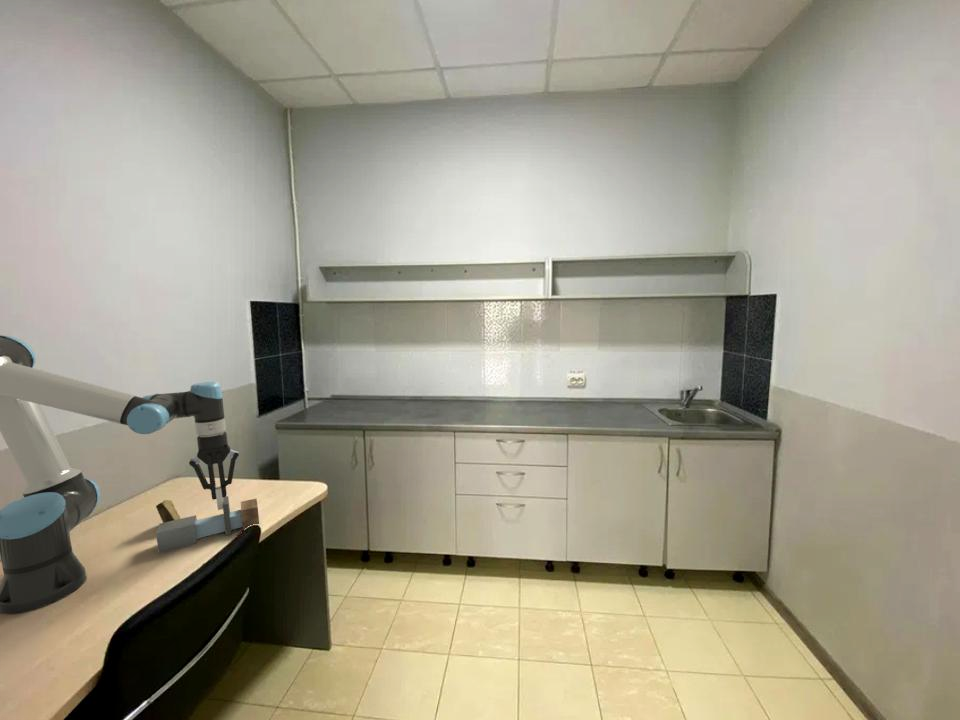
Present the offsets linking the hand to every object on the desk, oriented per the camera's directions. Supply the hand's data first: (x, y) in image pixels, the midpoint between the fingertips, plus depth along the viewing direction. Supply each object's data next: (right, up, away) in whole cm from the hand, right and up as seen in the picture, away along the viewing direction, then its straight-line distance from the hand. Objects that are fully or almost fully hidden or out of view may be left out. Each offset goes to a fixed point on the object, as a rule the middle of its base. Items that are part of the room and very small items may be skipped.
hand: (220, 507), depth 127 cm
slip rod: (-2, -8, -1) cm, 8 cm away
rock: (-19, -8, +6) cm, 21 cm away
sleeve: (-9, -9, -5) cm, 14 cm away
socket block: (+7, -7, +5) cm, 11 cm away
